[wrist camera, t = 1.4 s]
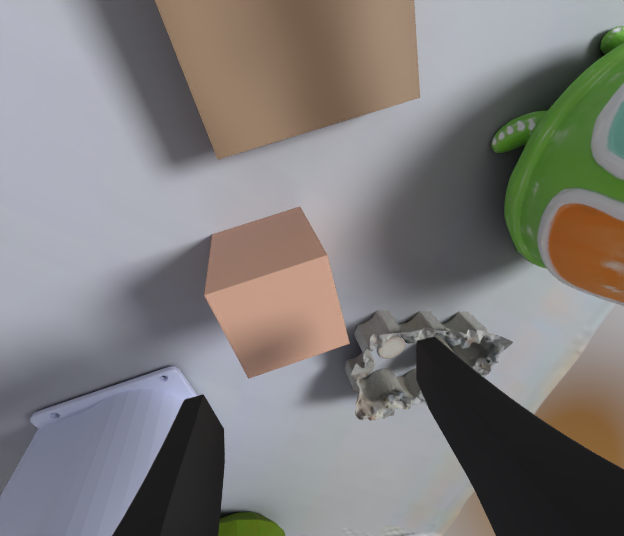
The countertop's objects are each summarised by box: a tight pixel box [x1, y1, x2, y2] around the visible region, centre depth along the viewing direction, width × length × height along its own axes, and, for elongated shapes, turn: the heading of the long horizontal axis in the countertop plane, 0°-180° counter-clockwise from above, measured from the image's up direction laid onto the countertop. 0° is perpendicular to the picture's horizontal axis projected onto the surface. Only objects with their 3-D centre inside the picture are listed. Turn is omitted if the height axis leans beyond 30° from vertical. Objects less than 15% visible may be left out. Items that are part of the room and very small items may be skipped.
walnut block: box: [155, 0, 420, 159], centre depth 13 cm, size 9×9×3 cm
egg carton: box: [345, 311, 513, 420], centre depth 24 cm, size 11×8×4 cm
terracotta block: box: [204, 207, 350, 379], centre depth 16 cm, size 5×5×6 cm
